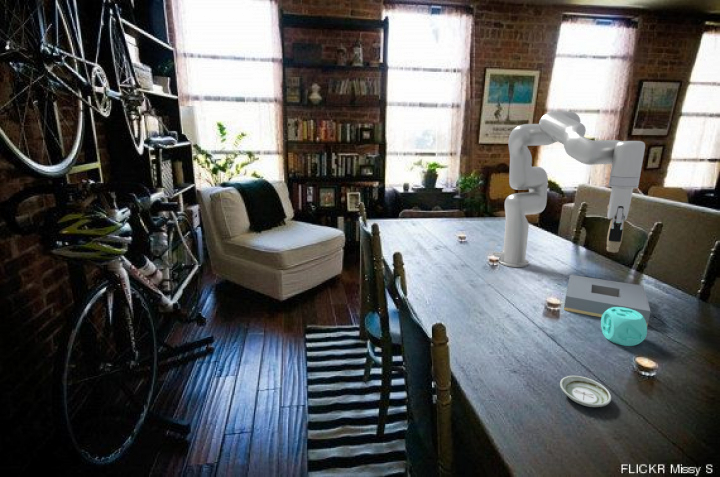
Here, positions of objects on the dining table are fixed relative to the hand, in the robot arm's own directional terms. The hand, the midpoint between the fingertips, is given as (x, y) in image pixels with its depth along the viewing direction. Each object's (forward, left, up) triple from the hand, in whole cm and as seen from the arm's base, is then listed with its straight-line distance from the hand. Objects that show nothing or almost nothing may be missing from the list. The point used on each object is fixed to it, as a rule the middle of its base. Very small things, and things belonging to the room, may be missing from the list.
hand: (614, 238), depth 119 cm
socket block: (0, 0, -23) cm, 23 cm away
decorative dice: (+4, -23, -23) cm, 33 cm away
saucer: (-4, -56, -23) cm, 61 cm away
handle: (0, 0, -4) cm, 4 cm away
